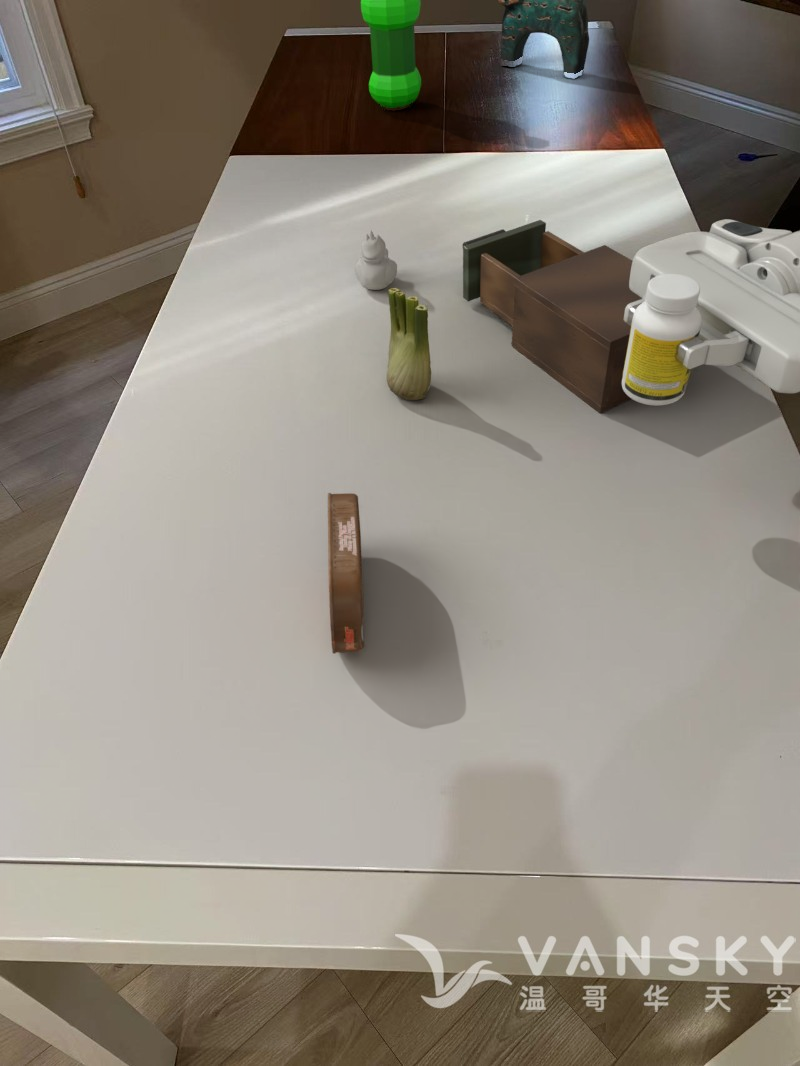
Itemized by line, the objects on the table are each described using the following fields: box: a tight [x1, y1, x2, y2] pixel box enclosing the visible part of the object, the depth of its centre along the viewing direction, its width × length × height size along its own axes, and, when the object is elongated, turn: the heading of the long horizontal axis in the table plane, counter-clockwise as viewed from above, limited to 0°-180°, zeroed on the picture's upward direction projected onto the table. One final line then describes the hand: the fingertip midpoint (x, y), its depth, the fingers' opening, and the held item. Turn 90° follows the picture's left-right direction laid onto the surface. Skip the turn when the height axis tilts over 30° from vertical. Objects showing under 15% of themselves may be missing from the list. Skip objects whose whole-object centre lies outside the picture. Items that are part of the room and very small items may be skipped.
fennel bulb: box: [386, 287, 432, 401], centre depth 88 cm, size 6×5×12 cm
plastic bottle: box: [360, 0, 422, 108], centre depth 147 cm, size 10×10×25 cm
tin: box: [327, 492, 365, 655], centre depth 68 cm, size 15×3×8 cm, turn 4°
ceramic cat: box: [496, 0, 590, 74], centre depth 159 cm, size 20×6×20 cm, turn 50°
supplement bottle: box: [622, 274, 702, 407], centre depth 68 cm, size 5×5×10 cm
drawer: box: [462, 219, 585, 327], centre depth 100 cm, size 19×12×7 cm, turn 31°
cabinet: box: [511, 244, 642, 414], centre depth 91 cm, size 16×13×9 cm
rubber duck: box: [354, 229, 398, 291], centre depth 106 cm, size 5×7×8 cm
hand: (654, 336), depth 67 cm, fingers closed on supplement bottle, 5 cm apart
